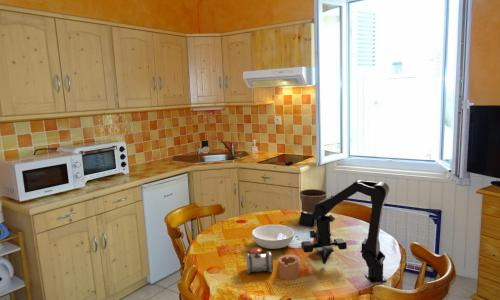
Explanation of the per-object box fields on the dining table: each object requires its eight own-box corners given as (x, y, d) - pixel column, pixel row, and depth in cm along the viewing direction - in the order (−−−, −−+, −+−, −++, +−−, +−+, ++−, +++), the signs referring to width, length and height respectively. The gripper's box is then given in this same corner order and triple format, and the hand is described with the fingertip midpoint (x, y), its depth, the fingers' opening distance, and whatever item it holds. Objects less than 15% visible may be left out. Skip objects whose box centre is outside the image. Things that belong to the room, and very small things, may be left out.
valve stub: (270, 266, 162) (269, 244, 161) (273, 275, 154) (272, 253, 152) (246, 268, 161) (245, 246, 160) (248, 277, 153) (247, 255, 151)
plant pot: (311, 212, 230) (311, 187, 227) (332, 218, 218) (332, 192, 215) (293, 218, 220) (293, 192, 217) (314, 225, 207) (314, 198, 205)
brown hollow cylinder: (297, 281, 149) (297, 265, 148) (277, 279, 150) (277, 263, 149) (300, 260, 166) (300, 246, 165) (282, 259, 168) (281, 245, 167)
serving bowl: (289, 256, 171) (288, 242, 170) (246, 251, 178) (246, 237, 176) (298, 238, 190) (297, 226, 189) (259, 234, 197) (259, 222, 196)
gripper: (338, 221, 166) (338, 254, 168) (297, 224, 164) (298, 257, 166) (347, 230, 155) (347, 265, 157) (303, 234, 153) (304, 269, 155)
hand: (324, 263), depth 159 cm, fingers closed
